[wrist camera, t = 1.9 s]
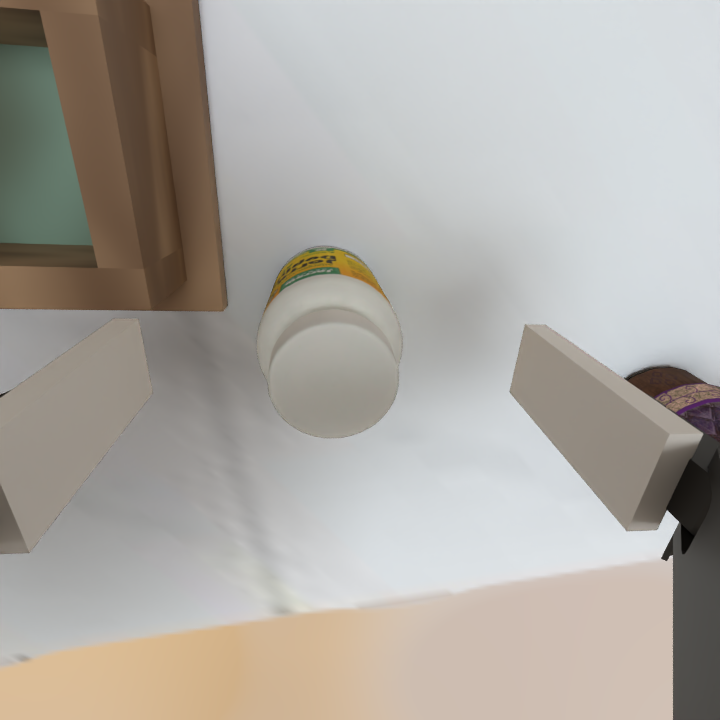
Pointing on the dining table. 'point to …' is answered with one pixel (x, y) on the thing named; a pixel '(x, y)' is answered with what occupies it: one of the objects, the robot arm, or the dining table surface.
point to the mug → (684, 396)
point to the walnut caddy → (106, 158)
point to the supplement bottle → (329, 344)
